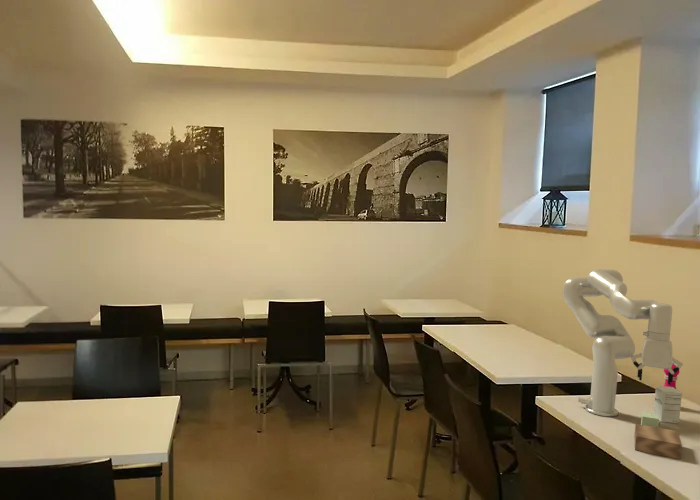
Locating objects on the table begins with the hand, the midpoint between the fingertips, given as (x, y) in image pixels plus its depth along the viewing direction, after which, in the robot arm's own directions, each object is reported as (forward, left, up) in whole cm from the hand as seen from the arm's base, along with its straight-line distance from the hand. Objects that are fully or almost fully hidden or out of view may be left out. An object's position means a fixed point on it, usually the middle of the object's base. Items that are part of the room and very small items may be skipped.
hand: (654, 381), depth 228 cm
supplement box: (+7, +22, -20) cm, 31 cm away
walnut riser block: (+2, -14, -20) cm, 24 cm away
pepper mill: (+9, +42, -20) cm, 48 cm away
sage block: (0, 0, -20) cm, 20 cm away
